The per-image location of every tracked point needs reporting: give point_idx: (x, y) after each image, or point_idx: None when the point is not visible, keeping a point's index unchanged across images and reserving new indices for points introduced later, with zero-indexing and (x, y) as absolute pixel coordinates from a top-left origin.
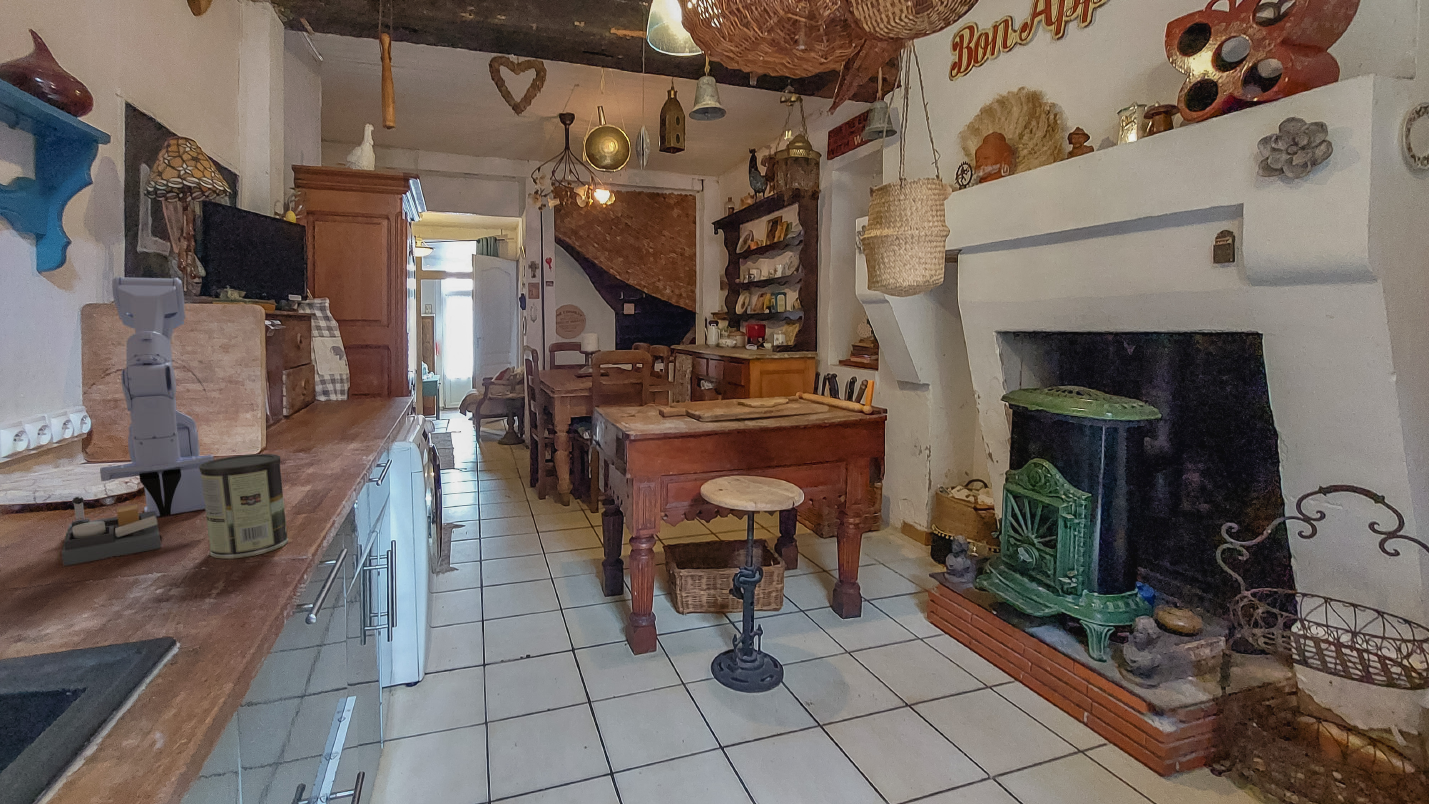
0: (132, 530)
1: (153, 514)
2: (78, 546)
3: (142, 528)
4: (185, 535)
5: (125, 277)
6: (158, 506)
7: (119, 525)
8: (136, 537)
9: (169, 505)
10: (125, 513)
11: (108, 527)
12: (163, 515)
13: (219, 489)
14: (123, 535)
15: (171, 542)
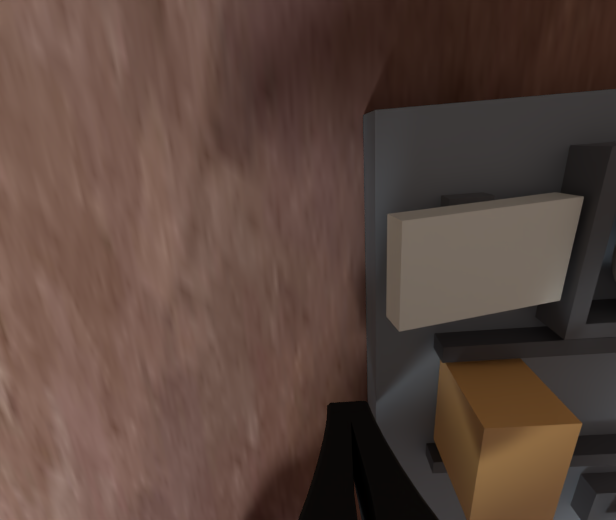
0: (501, 203)
1: None
2: None
3: (456, 207)
4: (279, 269)
5: None
6: (381, 441)
7: (524, 364)
8: (473, 159)
9: (330, 441)
10: (532, 412)
11: (586, 321)
12: (355, 404)
13: None
14: None
15: (325, 192)
